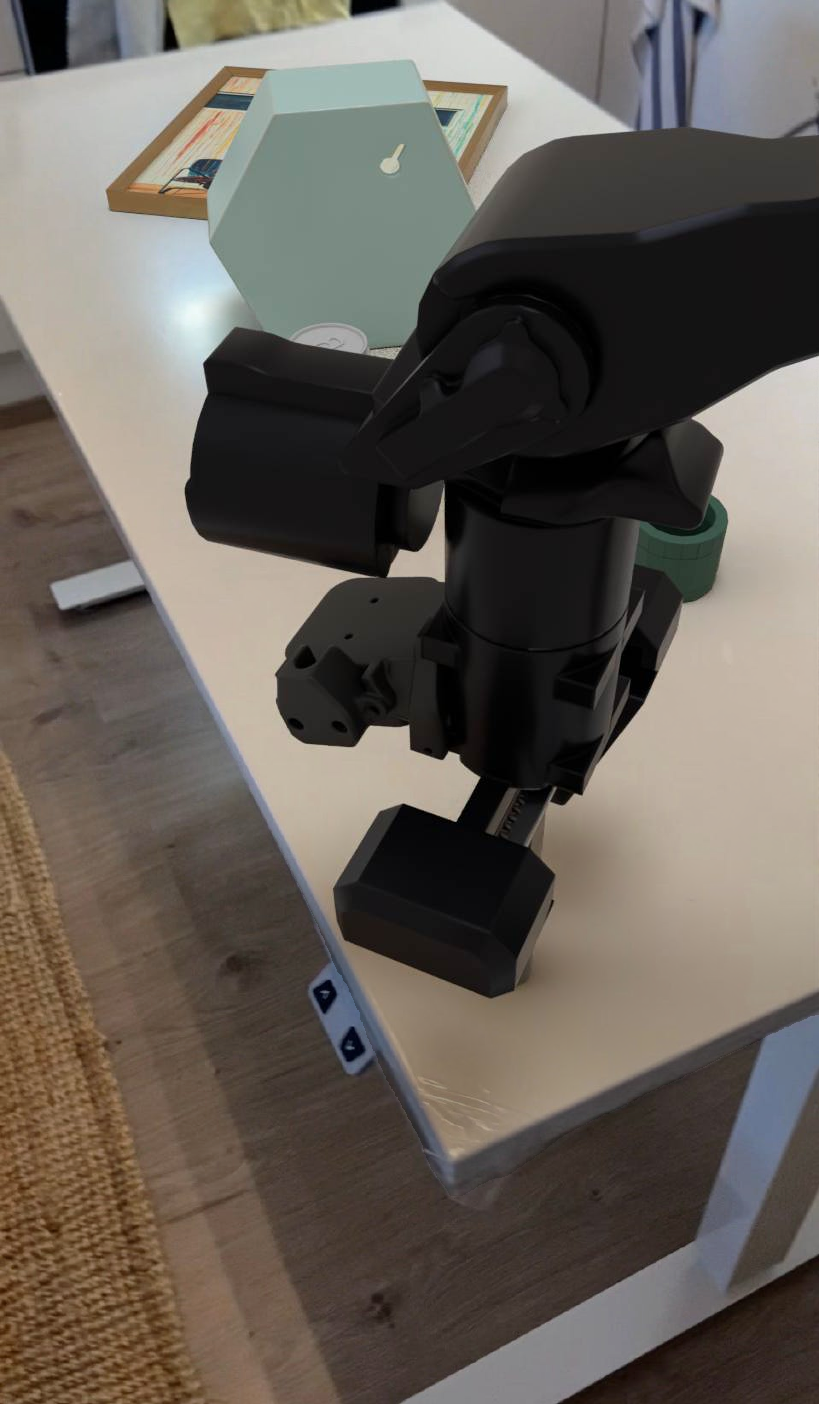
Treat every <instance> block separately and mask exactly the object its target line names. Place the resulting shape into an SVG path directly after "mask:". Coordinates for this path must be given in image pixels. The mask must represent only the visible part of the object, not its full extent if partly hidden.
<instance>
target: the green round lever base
mask: <svg viewBox="0 0 819 1404" xmlns="http://www.w3.org/2000/svg"><path fill="white" fill-rule="evenodd" d="M728 524H729V517H728V511H727V508H726V507H725V506H724V505H723V503H722V502H721V501H720V499H718V498H717V497H716V496H714V495H712V494H711V497H710V500H709V503H708V507H707V510H706V513H705V517H704V520H703V522H702V524H701V525H700V526H699V527H697V528H696V529H692V530H684V529H679V528H674V527H669V526H664V525H659V524H654V523H649V522H643V521H640V528H639V535H638V542H637V548H636V555H635V562H634V564H638V565H642V566H645V567H649V568H653V569H657V570H660V571H664V572H665V573H666V574H667V576H668V577H669V578H670V579H671V580H672V582H673V583H674V584H675V585H676V587H677V588H678V589H679V590H680V591H681V593H682V594H683V595H684V597H683V603H687V602H693V601H695V600H698V599H699V598H701V597H703V596H705V595H706V594H708V592H710V590H712V588H713V587H714V584H715V581H716V577H717V573H718V570H719V567H720V561H721V557H722V554H723V548H724V544H725V539H726V534H727V529H728Z"/></svg>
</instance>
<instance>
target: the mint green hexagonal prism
mask: <svg viewBox="0 0 819 1404" xmlns="http://www.w3.org/2000/svg"><path fill="white" fill-rule="evenodd" d="M422 80H423V79H422V76H421V75H420V72H419V70H418V66H417V65H416V62H415V61H414V60H412V59H396V60H394V59H393V60H382V61H371V62H358V63H346V64H345V63H343V64H333V65H332V64H331V65H319V66H318V65H317V66H307V67H306V66H305V67H293V68H281V69H276V70H269V71H267V72H266V73H265V75H264V77H263V79H262V81H261V83H260V85H259V87H258V89H257V91H256V93H255V95H254V97H253V99H252V101H251V103H250V105H249V107H248V109H247V111H246V113H245V116H244V118H243V120H242V122H241V124H240V126H239V128H238V130H237V132H236V134H235V136H234V138H233V140H232V142H231V144H230V146H229V148H228V150H227V152H226V154H225V157H224V159H223V161H222V163H221V165H220V167H219V169H218V171H217V173H216V175H215V177H214V179H213V181H212V183H211V185H210V187H209V190H208V192H207V195H206V196H207V214H208V220H207V227H208V229H207V231H208V243H209V245H210V247H211V249H212V250H213V252H214V254H215V255H216V257H217V258H218V260H219V261H220V264H221V265H222V267H223V268H224V269H225V271H226V273H227V274H228V276H229V277H230V279H231V281H232V282H233V284H234V286H235V287H236V289H237V290H238V292H239V293H240V295H241V297H242V298H243V300H244V302H245V303H246V305H247V307H248V308H249V309H250V311H251V313H252V314H253V316H254V317H255V319H256V321H257V322H258V324H259V325H260V327H261V329H262V331H264V332H268V333H272V334H275V335H278V336H280V337H283V338H285V339H287V340H290V338H291V337H292V336H293V335H294V334H295V333H296V332H298V331H299V330H301V329H303V328H305V327H308V326H311V325H316V324H321V323H341V324H346V325H350V326H353V327H355V328H357V329H359V330H360V331H361V332H363V333H364V334H365V336H366V338H367V344H368V347H369V349H370V350H371V349H382V348H393V347H401V346H402V347H403V346H404V344H405V343H406V341H407V340H408V338H409V337H410V335H411V334H412V332H413V331H414V329H415V328H416V326H417V319H418V308H419V303H420V301H421V298H422V296H423V294H424V292H425V290H426V288H427V286H428V284H429V282H430V279H431V277H432V275H433V273H434V272H435V270H436V269H437V268H438V266H439V265H440V263H441V262H442V260H443V259H444V257H445V256H446V255H447V253H448V252H449V250H450V249H451V247H452V246H453V244H454V243H455V242H456V240H457V239H458V237H459V236H460V234H461V233H462V232H463V230H464V229H465V227H466V226H467V224H468V223H469V221H470V220H471V219H472V217H473V216H474V214H475V213H476V211H477V210H478V208H477V206H476V204H475V201H474V199H473V196H472V194H471V191H470V189H469V186H468V184H466V181H465V179H464V177H463V174H462V172H461V170H460V167H459V165H458V163H457V160H456V158H455V156H454V153H453V151H452V149H451V146H450V144H449V142H448V139H447V137H446V135H445V132H444V130H443V128H442V125H441V123H440V121H439V118H438V116H437V114H436V111H435V109H434V107H433V104H432V102H431V100H430V97H429V95H428V93H427V90H426V88H425V86H424V83H423V81H422ZM401 144H404V147H403V149H402V151H401V152H400V154H399V156H398V158H397V160H398V162H399V169H398V170H397V171H396V172H395V173H392V174H388V173H385V172H383V171H382V169H381V167H380V164H381V162H382V161H383V160H384V159H386V158H392V156H393V154H394V153H395V151H396V150H397V148H398V146H399V145H401Z"/></svg>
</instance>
